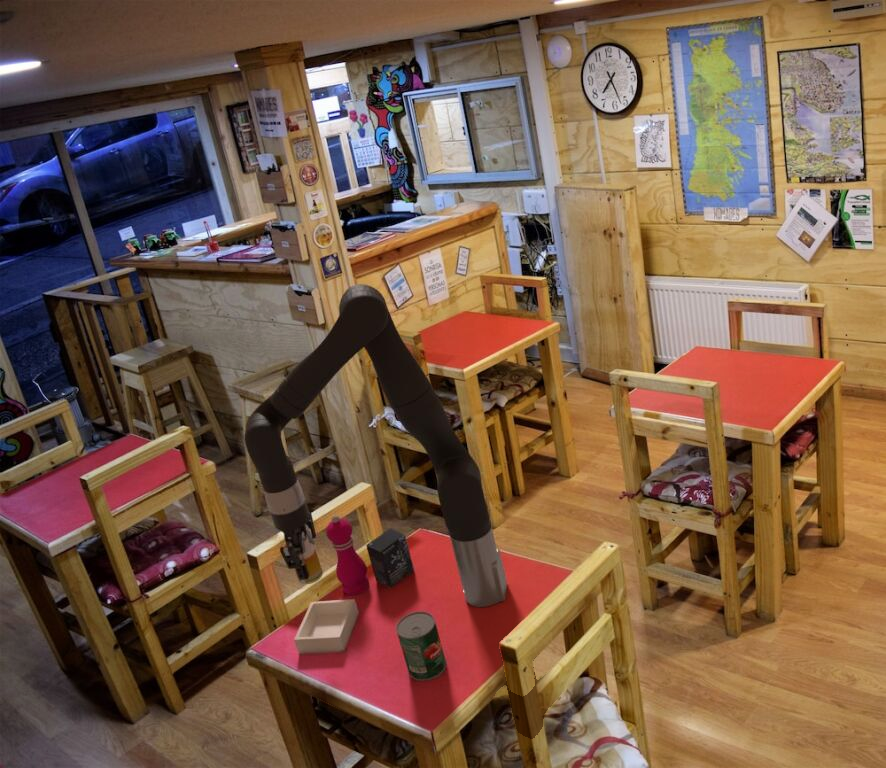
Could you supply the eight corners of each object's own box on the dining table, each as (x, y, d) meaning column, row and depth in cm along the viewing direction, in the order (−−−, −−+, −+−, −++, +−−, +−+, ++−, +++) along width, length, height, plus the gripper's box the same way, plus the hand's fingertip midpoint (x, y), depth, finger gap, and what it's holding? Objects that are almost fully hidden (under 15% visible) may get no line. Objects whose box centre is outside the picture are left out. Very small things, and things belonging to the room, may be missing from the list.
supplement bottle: (327, 570, 190) (315, 532, 186) (315, 586, 185) (302, 548, 181) (307, 568, 192) (294, 531, 188) (293, 583, 188) (281, 546, 184)
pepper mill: (373, 575, 211) (352, 504, 203) (368, 594, 205) (346, 522, 197) (344, 579, 212) (322, 509, 204) (338, 598, 206) (316, 526, 198)
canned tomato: (407, 658, 182) (395, 615, 178) (444, 649, 182) (433, 607, 178) (409, 685, 175) (396, 641, 170) (448, 676, 175) (436, 632, 170)
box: (391, 589, 205) (380, 551, 201) (375, 581, 209) (364, 544, 205) (415, 570, 209) (405, 533, 205) (399, 563, 213) (389, 527, 209)
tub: (358, 613, 199) (354, 599, 197) (344, 651, 188) (339, 637, 186) (315, 615, 202) (311, 601, 200) (299, 654, 190) (294, 639, 189)
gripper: (292, 521, 174) (315, 590, 181) (313, 482, 187) (334, 548, 193) (257, 524, 176) (281, 592, 182) (281, 485, 188) (302, 550, 195)
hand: (308, 569), depth 188 cm, fingers closed on supplement bottle, 5 cm apart
